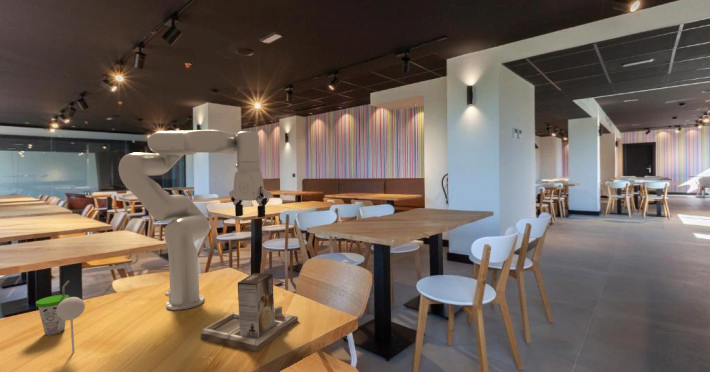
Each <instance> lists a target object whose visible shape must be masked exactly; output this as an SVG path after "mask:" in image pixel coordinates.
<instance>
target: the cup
mask: <svg viewBox="0 0 710 372" xmlns="http://www.w3.org/2000/svg"><path fill="white" fill-rule="evenodd" d="M69 283H70V280H66V282H65V283H64V284H63V285H62V287H61V292H62V294H55V295H51V296H47V297H46V296H45V297H43V298H40V299H38V300H37V301H35V307H37V308H38V311H39V316H40V320H41V325H42V327H43V331H44V335H45V334H46V335H51V336H53V335H52V334H56V333H59V332H61V331H63V330H64V331H65V330H66V328H65V327H66V322H67V320H63V319H61V318H59V316H58V315H57V313H56V309H57V307H58V305H59V304H60V302H62V301H63V300H64V299H66V298H69V297H70V295H69V294H66V293H65V291H66V290H65V287H66V286H67V285H68V284H69ZM64 331H63V332H64ZM61 333H62V332H61ZM59 334H60V333H59ZM46 335H45V336H46ZM56 335H57V334H56Z"/></svg>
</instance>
